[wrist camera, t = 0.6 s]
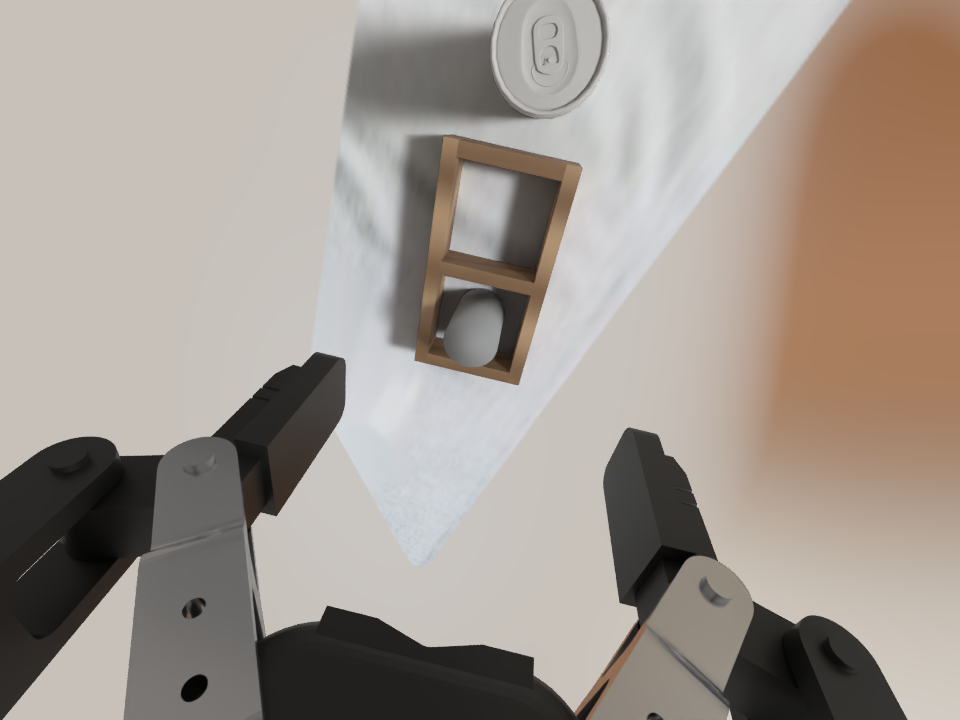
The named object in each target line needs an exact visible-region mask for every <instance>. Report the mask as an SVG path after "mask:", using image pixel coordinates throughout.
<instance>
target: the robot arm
mask: <svg viewBox="0 0 960 720" xmlns="http://www.w3.org/2000/svg"><path fill="white" fill-rule="evenodd" d="M345 376H346V364H345V360H344V359H343V358H340V357H336V356H332V355H327V354H323V353H319V352H316V353H314V354H313V355H312V356H311V357H310V358H309V359H308V360H307V361H306V363H304V365H303V366H302V367H299V366H295V365H292V366H290V367H288V368H286V369H284V370H282V371H280V372H278V373H276V374H275V375H273V376H272V377H271V378H270V379H269V380H268V381H267V382H266V383H265V384H264V385H263V388H260V389H259V390H258V391H257V392H256V393H255V394H254V395H253V398H250V399H249V400H248V401H247V402H246V403H245V404H244V405H243V406H242V407H241V408H240V409H239V410H238V411H237V412H236V413H235V414H234V415H233V416H232V417H231V418H230V419H229V420H228V421H227V422H226V423H225V424H224V425H223V426H222V427H221V428H220V429H219V430H218V431H217V432H216V433H215V434H214V435H212V436H211V437H201V438H196V439H192V440H189V441H186V442H183V443H181V444H179V445H177V446H176V447H174V448H172V449H171V450H170V451H168V452H167V453H166V454H165V455H152V456H119V454H118V451H117V449H116V447H115V445H114V444H113V443H112V442H111V441H109V440H107V439H104V438H100V437H79V438H74V439H69V440H66V441H62V442H59V443H56V444H54V445H52V446H50V447H47V448H45V449H43V450H42V451H40V452H38V453H37V454H36V455H34V456H33V457H31V458H30V459H28V460H27V461H26V462H24V463H23V464H22V465H20V466H19V467H18V468H16V469H15V470H14V471H12V472H11V473H9V474H8V475H7V476H5V477H4V478H3V479H1V480H0V720H2V719H3V718H4V717H5V716H6V714H7V713H8V712H9V711H10V710H11V709H12V707H13V706H14V705H15V704H16V703H17V701H18V700H19V699H20V698H21V696H22V695H23V694H24V693H25V692H26V690H27V689H28V688H29V687H30V686H31V685H32V683H33V682H34V681H35V680H36V678H37V677H38V676H39V675H40V673H41V672H42V671H43V670H44V669H45V668H46V666H47V665H48V664H49V663H50V662H51V660H52V659H53V658H54V657H55V656H56V654H57V653H58V652H59V651H60V649H61V648H62V647H63V646H64V645H65V644H66V642H67V641H68V640H69V639H70V638H71V636H72V635H73V634H74V633H75V632H76V630H77V629H78V628H79V627H80V626H81V624H82V623H83V622H84V621H85V620H86V618H87V617H88V616H89V614H91V612H92V611H93V610H94V609H95V607H96V606H97V605H98V604H99V603H100V601H101V600H102V599H103V598H104V597H105V596H106V594H107V593H108V592H109V591H110V589H111V588H112V587H113V586H114V585H115V583H116V582H117V581H118V580H119V579H120V577H121V576H122V575H123V574H124V573H125V571H126V570H127V569H128V568H129V567H130V565H131V564H132V563H133V562H134V560H135V559H136V558H137V557H138V556H139V557H140V556H141V559H140V562H139V568H138V577H137V587H136V598H135V608H134V618H133V628H132V640H131V650H130V660H129V670H128V680H127V690H126V700H125V711H124V720H726V719H727V716H728V712H729V708H730V712H731V715H732V719H733V720H907V718H906V716H905V714H904V712H903V711H902V709H901V707H900V705H899V703H898V701H897V699H896V698H895V696H894V694H893V692H892V690H891V688H890V686H889V685H888V683H887V681H886V679H885V677H884V675H883V673H882V672H881V670H880V668H879V666H878V664H877V663H876V661H875V659H874V658H873V657H872V655H871V654H870V653H869V651H868V650H867V649H866V648H865V647H864V646H863V645H862V644H861V642H859V641H858V639H856V638H855V637H854V636H853V635H852V634H851V633H849V632H848V631H847V630H846V629H844V628H843V627H841V626H840V625H838V624H837V623H835V622H833V621H831V620H829V619H826V618H824V617H820V616H813V615H812V616H807V617H805V618H803V619H802V620H801V621H799V622H798V623H797V624H794V623H792V622H790V621H788V620H787V619H785V618H783V617H781V616H779V615H777V614H775V613H773V612H771V611H770V610H768V609H766V608H764V607H762V606H761V605H759V604H757V603H755V602H753V601H752V598H751V596H750V594H749V592H748V590H747V588H746V587H745V585H744V584H743V582H742V581H741V580H740V579H739V578H738V576H736V574H735V573H734V572H732V571H731V570H730V569H729V568H727V567H726V566H725V565H723V564H722V563H720V562H718V560H717V558H716V554H715V552H714V549H713V546H712V544H711V541H710V538H709V535H708V533H707V530H706V527H705V525H704V522H703V519H702V516H701V514H700V511H699V509H698V508H697V503H696V500H695V497H694V494H692V493H691V492H692V489H691V486H690V484H689V481H688V478H687V475H686V473H685V472H684V471H683V469H682V468H681V467H680V466H679V464H678V463H677V462H676V460H675V459H674V458H673V457H670V456H666V455H664V451H663V448H662V445H661V442H660V439H659V437H658V435H657V434H654V433H650V432H646V431H642V430H638V429H633V428H627V429H626V430H625V431H624V433H623V435H622V437H621V439H620V441H619V443H618V445H617V447H616V449H615V451H614V453H613V454H612V456H611V459H610V461H609V462H608V464H607V467H606V470H605V474H604V481H603V485H604V486H603V487H604V495H605V501H606V509H607V515H608V523H609V530H610V536H611V545H612V552H613V559H614V566H615V573H616V580H617V587H618V595H619V601H620V603H622V604H626V605H630V606H634V607H637V611H638V617H639V619H638V620H637V622H636V623H635V624H634V625H633V627H632V629H631V630H630V632H629V633H628V635H627V636H626V638H625V639H624V641H623V642H622V644H621V645H620V647H619V649H618V650H617V651H616V653H615V655H614V656H613V657H612V659H611V661H610V662H609V664H608V665H607V667H606V668H605V670H604V671H603V673H602V674H601V676H600V678H599V679H598V681H597V682H596V683H595V685H594V686H593V688H592V689H591V691H590V692H589V693H588V695H587V696H586V697H585V699H584V700H583V701H582V703H581V704H580V706H579V707H578V708H577V710H576V711H575V713H574V712H573V711H572V710H571V709H570V707H569V706H568V705H567V704H566V703H565V701H564V700H563V699H562V698H561V697H560V696H559V695H558V694H557V693H556V692H555V691H554V690H553V689H552V688H550V687H549V686H548V685H547V684H545V683H544V682H542V681H541V680H540V679H538V678H537V677H535V676H533V668H534V658H533V657H529V656H525V655H521V654H517V653H513V652H509V651H505V650H501V649H497V648H493V647H489V646H486V645H468V646H449V647H426V646H423V645H421V644H419V643H418V642H416V641H415V640H413V639H411V638H409V637H408V636H406V635H404V634H403V633H401V632H400V631H398V630H396V629H395V628H393V627H391V626H390V625H388V624H386V623H385V622H383V621H381V620H380V619H378V618H374V617H370V616H366V615H363V614H359V613H355V612H350V611H347V610H343V609H339V608H335V607H331V606H327V607H326V609H325V612H324V614H323V616H322V618H321V620H320V621H318V622H308V623H303V624H297V625H294V626H291V627H288V628H284V629H282V630H280V631H277V632H275V633H273V634H270V635H268V636H267V637H266V634H265V627H264V621H263V614H262V608H261V601H260V593H259V585H258V576H257V568H256V559H255V551H254V543H253V535H252V527H251V525H252V524H253V522H254V521H255V519H256V518H257V516H258V515H259V514H260V512H262V513H266V514H270V515H274V516H277V515H278V513H279V512H280V510H281V509H282V507H283V506H284V504H285V503H286V501H287V500H288V498H289V497H290V495H291V494H292V492H293V490H294V489H295V487H296V486H297V484H298V483H299V481H300V480H301V478H302V477H303V475H304V474H305V472H306V471H307V469H308V468H309V466H310V465H311V463H312V461H313V460H314V459H315V457H316V456H317V454H318V452H319V451H320V450H321V448H322V447H323V445H324V444H325V442H326V441H327V439H328V438H329V436H330V434H331V433H332V431H333V430H334V428H335V427H336V425H337V424H338V422H339V421H340V419H341V416H342V414H343V410H344V406H345ZM58 540H59V541H58ZM57 541H58V542H57ZM56 542H57V543H56ZM55 543H56V544H55ZM54 544H55V545H54ZM53 545H54V546H53ZM52 546H53V547H52ZM50 547H52V548H51V549H50ZM49 549H50V550H49ZM47 550H49V551H48V552H47V553H46V554H45V555H43V554H44V553H45V552H46V551H47ZM42 555H43V557H42V558H40V557H41V556H42ZM39 558H40V559H39ZM38 559H39V560H38ZM37 560H38V561H37ZM36 561H37V562H36ZM35 562H36V563H35ZM34 563H35V564H34ZM33 564H34V565H33ZM32 565H33V566H32ZM31 566H32V567H31ZM30 567H31V568H30ZM29 568H30V569H29ZM28 569H29V570H28ZM26 570H28V571H27V572H26ZM25 572H26V573H25ZM24 573H25V574H24ZM22 574H24V575H23V576H22V577H21V575H22ZM20 577H21V578H20ZM19 578H20V579H19ZM18 579H19V580H18ZM17 580H18V581H17Z"/></svg>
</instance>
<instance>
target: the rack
mask: <svg viewBox="0 0 960 720" xmlns="http://www.w3.org/2000/svg"><path fill="white" fill-rule="evenodd" d="M463 159H467V160H471V161H476V162H480V163H484V164H489V165H493V166H497V167H502V168H506V169H510V170H515V171H519V172H523V173H528V174H532V175H536V176H541V177H545V178H550V179H554V180H558V181H559V185H558V189H557V192H556V196H555V200H554V203H553V207H552V211H551V214H550V218H549V221H548V225H547V229H546V232H545V236H544V240H543V243H542V247H541V251H540V254H539V258H538V262H537V265H536V269H535V270H533V269H528V268H524V267H520V266H515V265H511V264H507V263H503V262H498V261H494V260H490V259H486V258H481V257H477V256H473V255H468V254H464V253H460V252H456V251H451V250H449V248H450V242H451V235H452V229H453V222H454V216H455V209H456V203H457V197H458V190H459V184H460V177H461V171H462V164H463ZM582 169H583V168H582V167H581V165H580V164H579V163H574V162H570V161H566V160H561V159H557V158H553V157H548V156H544V155H539V154H535V153H531V152H526V151H522V150H518V149H513V148H509V147H504V146H500V145H496V144H491V143H487V142H483V141H478V140H474V139H469V138H465V137H461V136H456V135H448V136H443V143H442V151H441V159H440V167H439V174H438V182H437V190H436V198H435V206H434V213H433V221H432V229H431V237H430V244H429V252H428V260H427V268H426V276H425V283H424V291H423V299H422V307H421V314H420V322H419V330H418V338H417V346H416V353H415V361H419V362H423V363H427V364H431V365H435V366H440V367H444V368H448V369H452V370H456V371H460V372H465V373H469V374H473V375H477V376H481V377H485V378H490V379H494V380H498V381H502V382H506V383H510V384H515V385H519V382H520V378H521V375H522V371H523V368H524V365H525V361H526V358H527V354H528V351H529V348H530V344H531V341H532V338H533V334H534V331H535V327H536V324H537V321H538V317H539V314H540V311H541V307H542V304H543V300H544V297H545V294H546V290H547V287H548V284H549V280H550V277H551V273H552V270H553V267H554V263H555V260H556V256H557V253H558V250H559V246H560V243H561V240H562V236H563V233H564V229H565V226H566V223H567V219H568V216H569V213H570V209H571V206H572V202H573V199H574V196H575V192H576V189H577V186H578V182H579V179H580V175H581V172H582ZM445 276H449V277H454V278H458V279H462V280H466V281H471V282H475V283H479V284H483V285H488V286H492V287H496V288H500V289H505V290H509V291H513V292H517V293H522V294H526V295H528V298H527V302H526V306H525V309H524V313H523V317H522V320H521V324H520V328H519V331H518V335H517V339H516V342H515V346H514V350H513V353H512V355H509V354H505V353H501V352H496V354H495V356H494V358H493V359H492V360H491V361H490V362H489V363H487V364H485V365H483V366H480V367H466V366H462V365H460V364H458V363H456V362H455V361H453V360H452V359H451V358H450V357H449V356H448V354H447V353H446V351H445V348H444V344H443V339H442V338H438V337H436V332H437V326H438V319H439V313H440V306H441V300H442V293H443V287H444V280H445Z"/></svg>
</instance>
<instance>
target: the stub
mask: <svg viewBox="0 0 960 720" xmlns="http://www.w3.org/2000/svg"><path fill="white" fill-rule="evenodd" d="M504 315H505V308H504V304H503V302H502V300H501V299H500V297H499V296H498V295H497V294H496V293H494V292H492V291H490V290H488V289H483V288H477V289H473V290H470V291H468V292H467V293H465V294H464V295H463V297H462V298H461V300H460V302H459V304H458V306H457V308H456V310H455V312H454V314H453V316H452V319H451V321H450V323H449V325H448V327H447V329H446V331H445V334H444V338H443V344H444V348H445V351H446V353H447V354H448V356H449V357H450V358H451V359H452V360H453V361H455V362H456V363H458V364H460V365H462V366H466V367H480V366H483V365H485V364H487V363H489V362H490V361H491V360H492V359H493V358H494V356H495V354H496V352H497V349H498V344H499V339H500V334H501V329H502V325H503V320H504Z"/></svg>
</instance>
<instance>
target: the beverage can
mask: <svg viewBox="0 0 960 720" xmlns="http://www.w3.org/2000/svg"><path fill="white" fill-rule="evenodd" d="M610 40H611V36H610V27H609V18H608V15H607V12H606V9H605V7H604V4H603V1H602V0H505V1H504V3H503V5H502V7H501V9H500V11H499V13H498V16H497V18H496V20H495V22H494V26H493V31H492V36H491V40H490V63H491V68H492V72H493V77H494V80H495V82H496V84H497V87H498V89H499V91H500V93H501V95H502V96H503V97H504V98H505V99H506V101H507V102H508V103H509V104H510V105H511V106H512V107H513V108H515V109H516V110H517V111H519V112H520V113H522V114H523V115H527V116H530V117H533V118H537V119H552V118H555V117H559V116H562V115H565V114H567V113H569V112H571V111H572V110H574V109H575V108H577V107H578V106H580V105H581V104H582V103H583V102H584V101H585V100H586V99H587V98H588V97H589V96H590V95H591V93H592V92H593V91H594V89H595V87H596V86H597V84H598V82H599V81H600V79H601V77H602V75H603V72H604V69H605V66H606V63H607V60H608V56H609V48H610Z"/></svg>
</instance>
